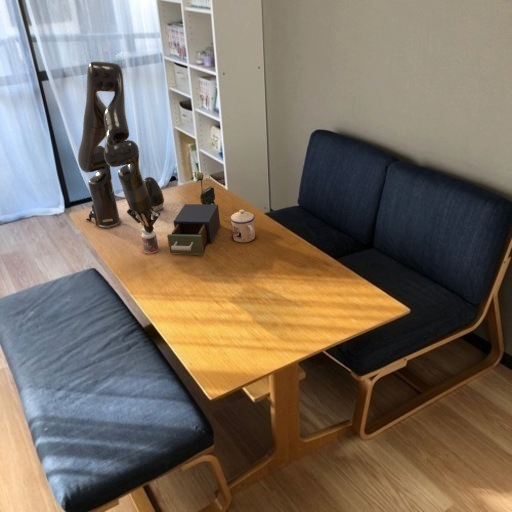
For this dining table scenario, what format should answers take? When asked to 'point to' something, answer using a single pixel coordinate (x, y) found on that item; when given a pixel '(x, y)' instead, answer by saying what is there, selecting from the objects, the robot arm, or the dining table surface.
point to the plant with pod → (206, 192)
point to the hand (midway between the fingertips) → (149, 231)
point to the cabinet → (200, 217)
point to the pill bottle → (149, 241)
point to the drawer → (188, 238)
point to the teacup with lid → (243, 226)
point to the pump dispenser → (154, 193)
